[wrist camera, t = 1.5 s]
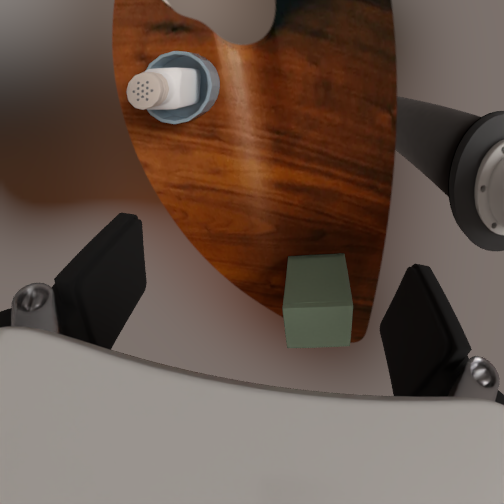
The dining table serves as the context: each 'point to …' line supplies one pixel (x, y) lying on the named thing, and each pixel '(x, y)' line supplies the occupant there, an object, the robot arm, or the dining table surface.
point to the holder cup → (207, 86)
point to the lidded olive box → (317, 302)
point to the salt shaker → (165, 88)
